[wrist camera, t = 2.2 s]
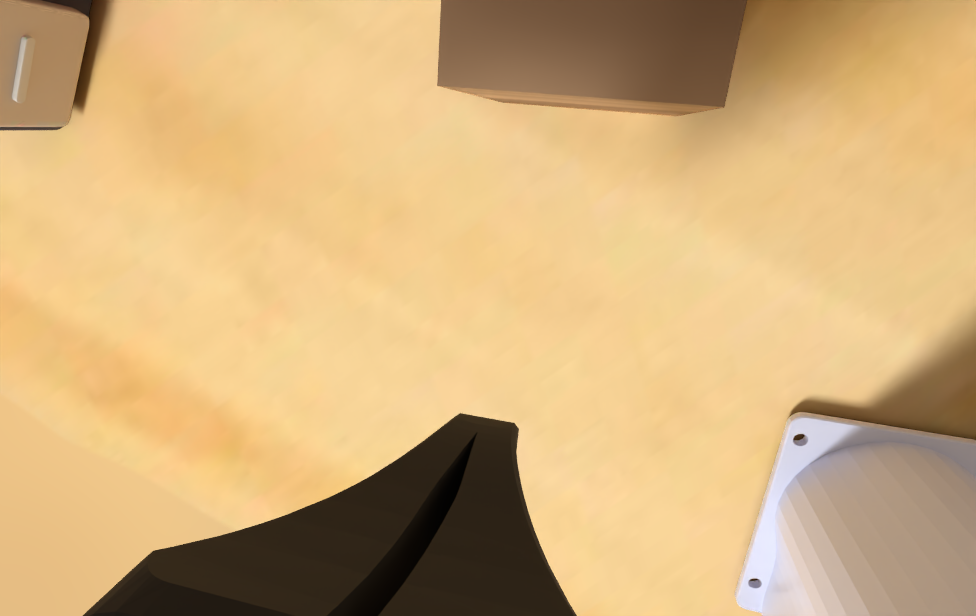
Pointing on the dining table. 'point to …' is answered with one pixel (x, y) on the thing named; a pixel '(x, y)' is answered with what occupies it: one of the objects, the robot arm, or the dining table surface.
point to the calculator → (40, 61)
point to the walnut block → (592, 52)
